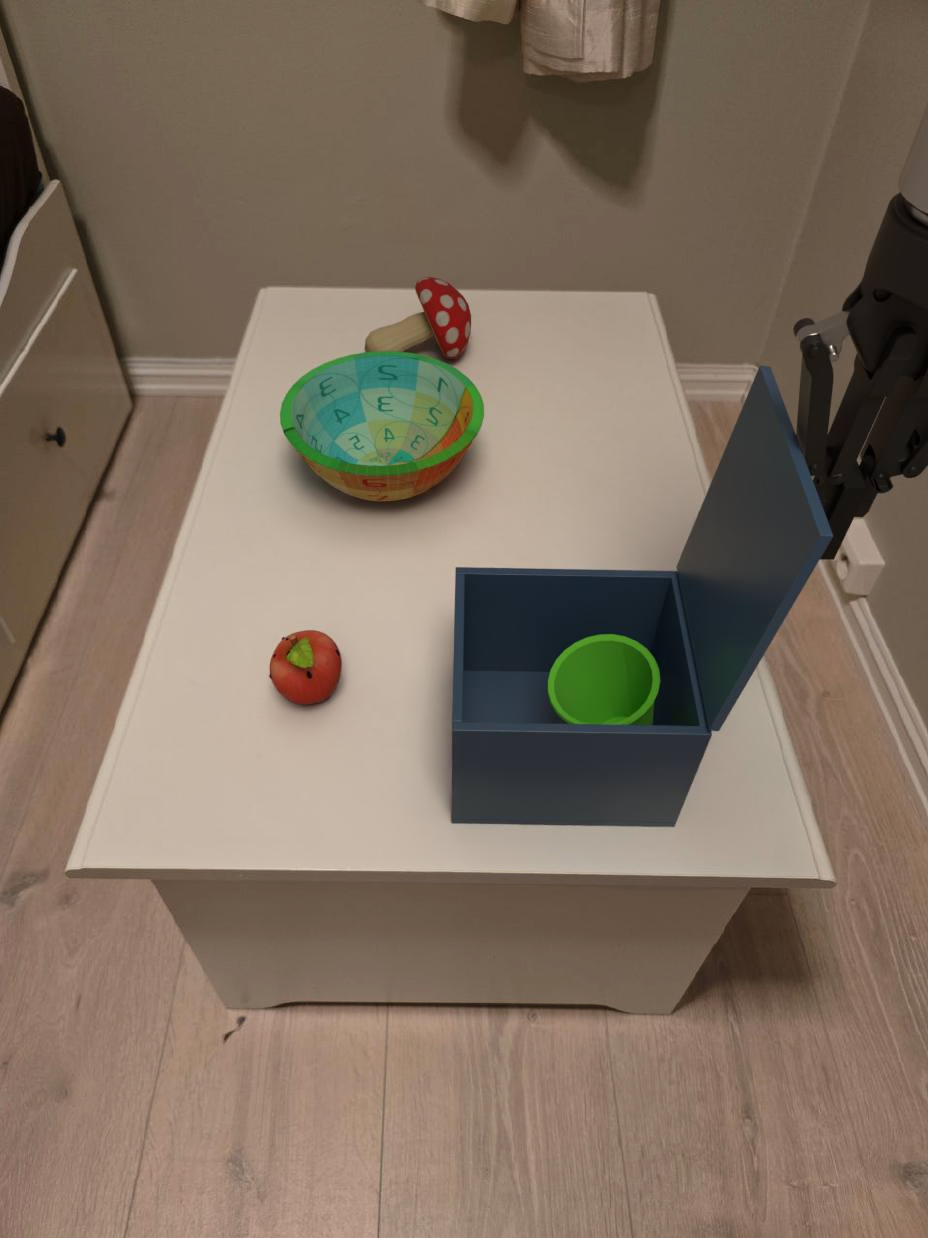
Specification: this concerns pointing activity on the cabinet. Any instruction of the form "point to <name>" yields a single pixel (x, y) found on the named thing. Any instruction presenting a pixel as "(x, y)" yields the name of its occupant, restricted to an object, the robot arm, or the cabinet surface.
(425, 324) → the decorative mushroom
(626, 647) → the cup
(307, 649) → the apple
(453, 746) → the box
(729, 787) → the cabinet surface
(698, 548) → the lid
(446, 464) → the bowl
